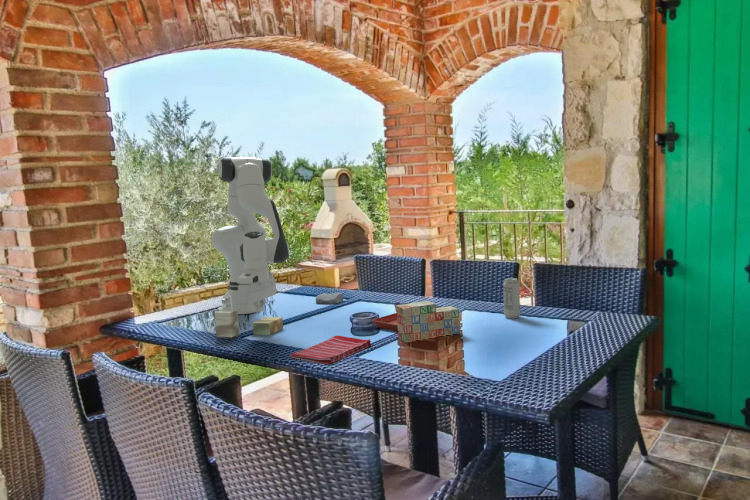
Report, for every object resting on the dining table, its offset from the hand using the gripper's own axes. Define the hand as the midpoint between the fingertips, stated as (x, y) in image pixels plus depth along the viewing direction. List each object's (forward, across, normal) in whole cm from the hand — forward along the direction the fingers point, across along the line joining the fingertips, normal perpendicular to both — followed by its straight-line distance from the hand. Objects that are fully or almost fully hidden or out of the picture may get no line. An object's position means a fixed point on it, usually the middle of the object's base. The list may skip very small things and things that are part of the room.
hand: (259, 311), depth 229 cm
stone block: (+9, -59, -2) cm, 59 cm away
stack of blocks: (+9, -10, +64) cm, 65 cm away
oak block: (+7, 0, 0) cm, 7 cm away
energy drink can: (+9, -43, +86) cm, 97 cm away
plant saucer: (+9, -23, +50) cm, 55 cm away
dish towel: (+10, +15, +38) cm, 42 cm away
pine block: (+9, +7, -10) cm, 15 cm away
